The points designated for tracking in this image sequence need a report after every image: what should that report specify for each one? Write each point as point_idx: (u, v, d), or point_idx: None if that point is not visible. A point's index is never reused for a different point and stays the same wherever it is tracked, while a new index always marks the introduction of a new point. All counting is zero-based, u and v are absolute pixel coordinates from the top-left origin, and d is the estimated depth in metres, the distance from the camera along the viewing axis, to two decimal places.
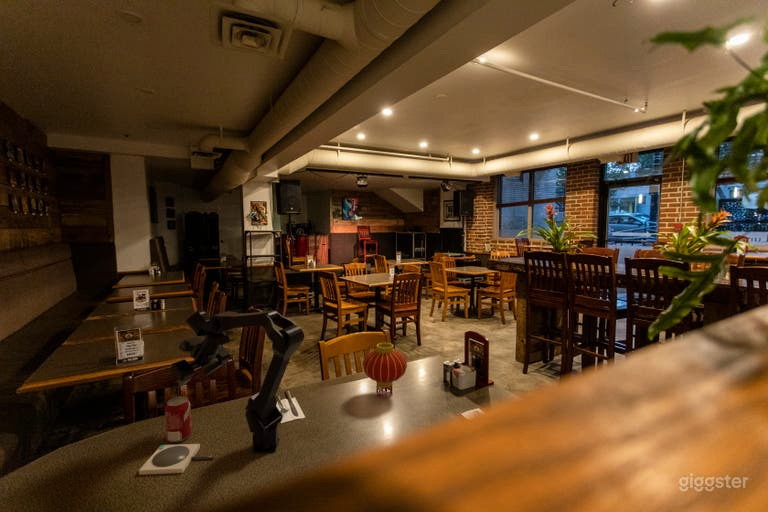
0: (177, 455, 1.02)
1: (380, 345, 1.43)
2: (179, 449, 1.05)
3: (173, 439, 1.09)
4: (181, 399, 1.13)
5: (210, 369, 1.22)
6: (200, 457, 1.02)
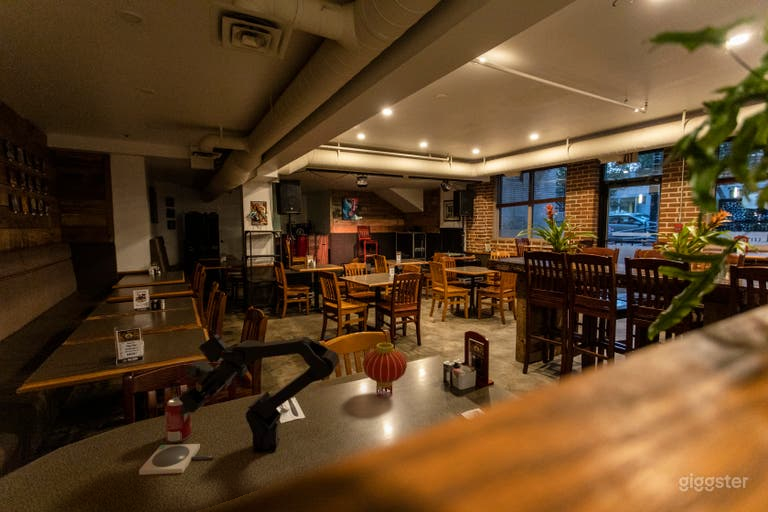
0: (177, 455, 1.02)
1: (380, 345, 1.43)
2: (179, 449, 1.05)
3: (173, 439, 1.09)
4: None
5: (208, 393, 1.15)
6: (200, 457, 1.02)
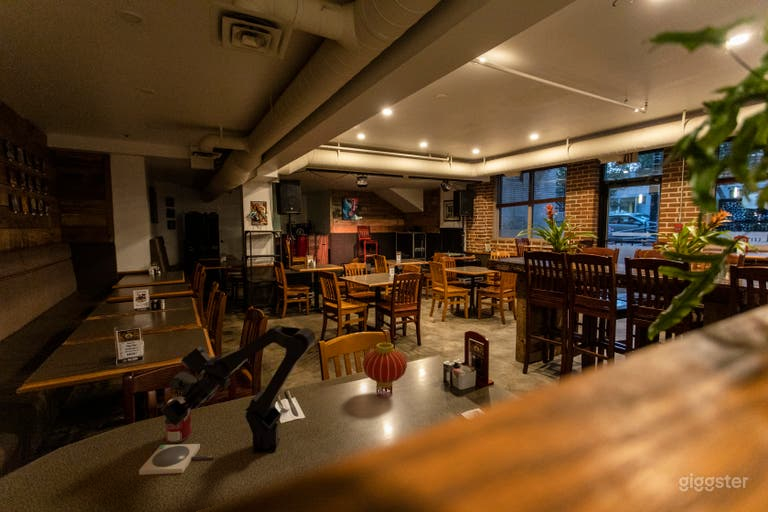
0: (177, 455, 1.02)
1: (380, 345, 1.43)
2: (179, 449, 1.05)
3: (173, 439, 1.09)
4: (181, 399, 1.13)
5: None
6: (200, 457, 1.02)
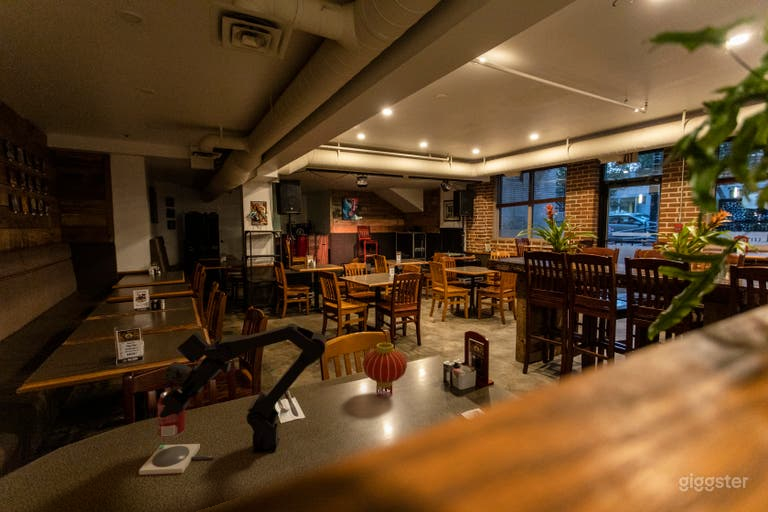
0: (177, 455, 1.02)
1: (380, 345, 1.43)
2: (179, 449, 1.05)
3: (168, 434, 1.02)
4: None
5: None
6: (200, 457, 1.02)
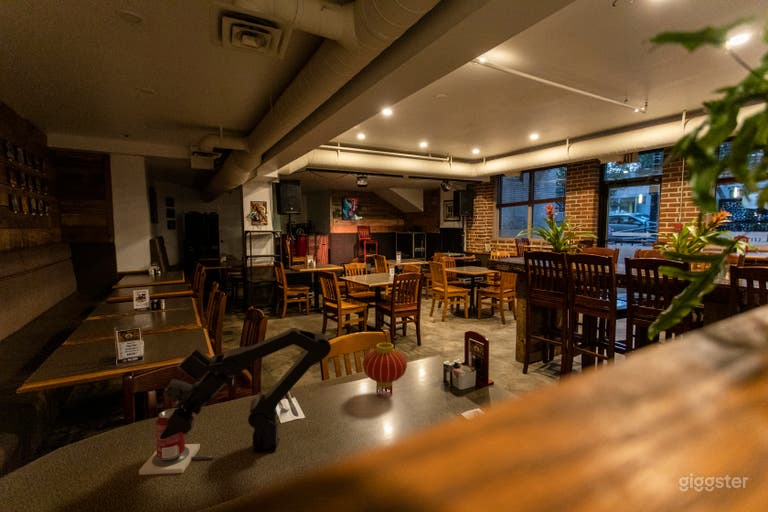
0: None
1: (380, 345, 1.43)
2: None
3: (170, 455, 0.98)
4: (172, 411, 1.03)
5: None
6: (200, 457, 1.02)
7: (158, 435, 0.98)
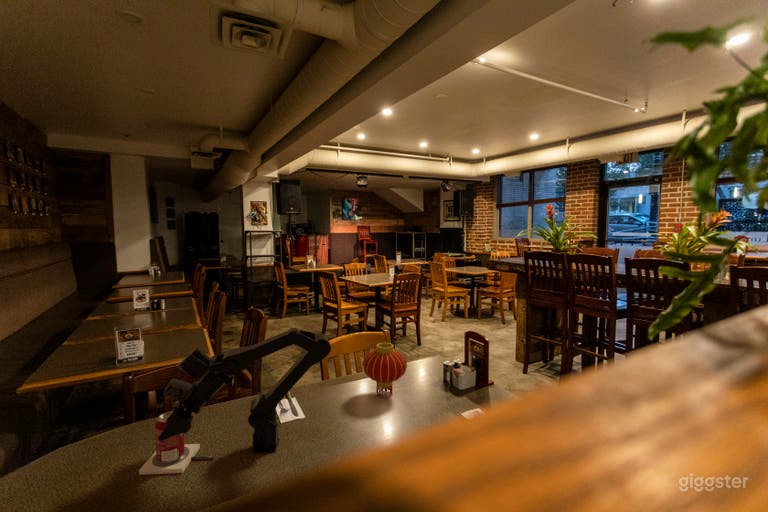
0: None
1: (380, 345, 1.43)
2: None
3: (170, 458, 0.98)
4: None
5: None
6: (200, 457, 1.02)
7: (157, 439, 0.98)
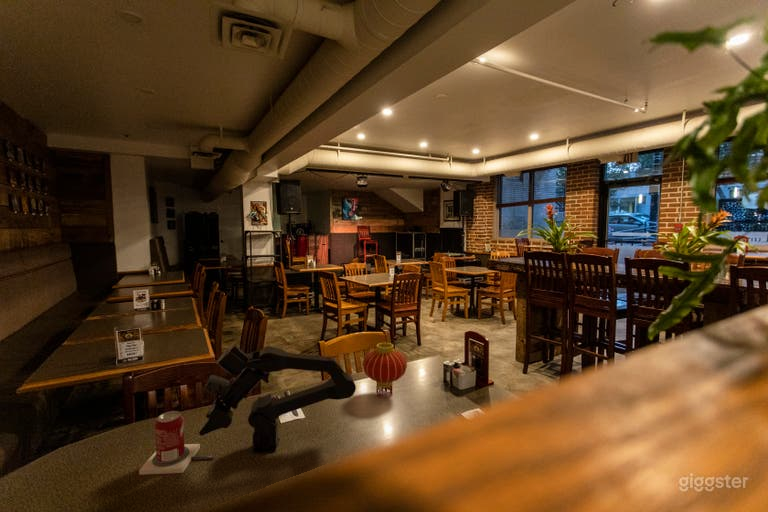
0: None
1: (380, 345, 1.43)
2: None
3: (170, 458, 0.98)
4: (171, 414, 1.02)
5: None
6: (200, 457, 1.02)
7: (157, 439, 0.97)
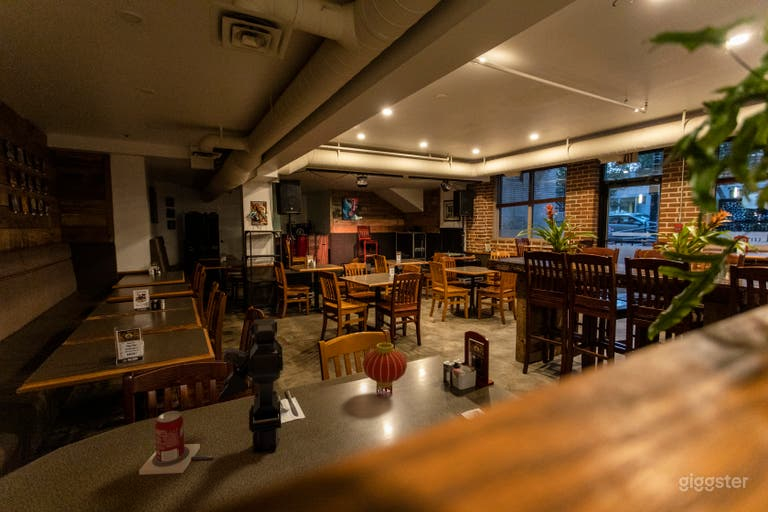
0: None
1: (380, 345, 1.43)
2: None
3: (170, 458, 0.98)
4: (171, 414, 1.02)
5: None
6: (200, 457, 1.02)
7: (157, 439, 0.97)
